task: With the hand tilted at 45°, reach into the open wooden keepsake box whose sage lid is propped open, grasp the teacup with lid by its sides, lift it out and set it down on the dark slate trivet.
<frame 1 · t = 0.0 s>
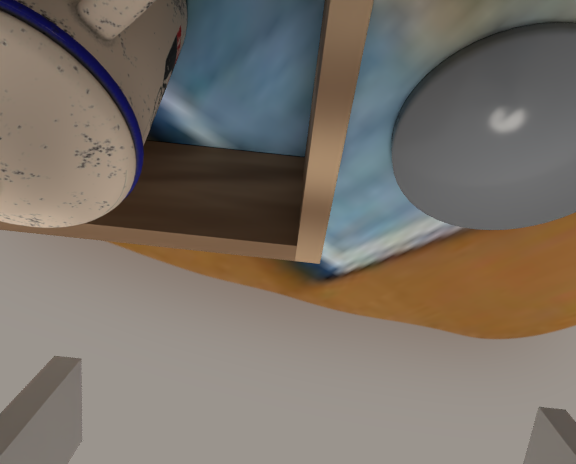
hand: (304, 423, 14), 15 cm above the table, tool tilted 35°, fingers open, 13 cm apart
trivet: (514, 137, 25), on the table
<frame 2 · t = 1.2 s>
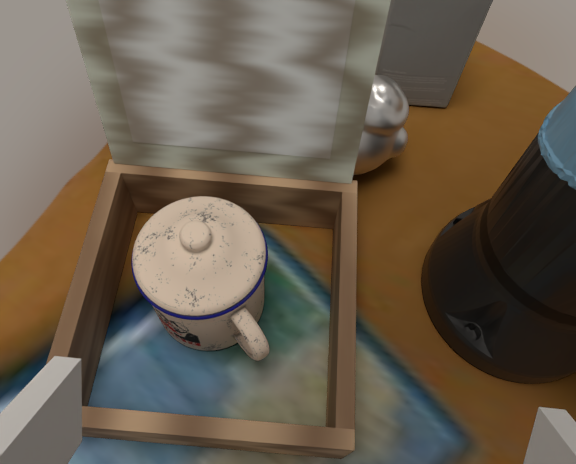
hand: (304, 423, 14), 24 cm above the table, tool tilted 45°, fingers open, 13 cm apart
skincare box: (405, 88, 54), on the table
teacup with lid: (221, 314, 41), resting in open wooden keepsake box
open wooden keepsake box: (221, 313, 41), on the table
silver metal rounded piece: (347, 158, 49), on the table
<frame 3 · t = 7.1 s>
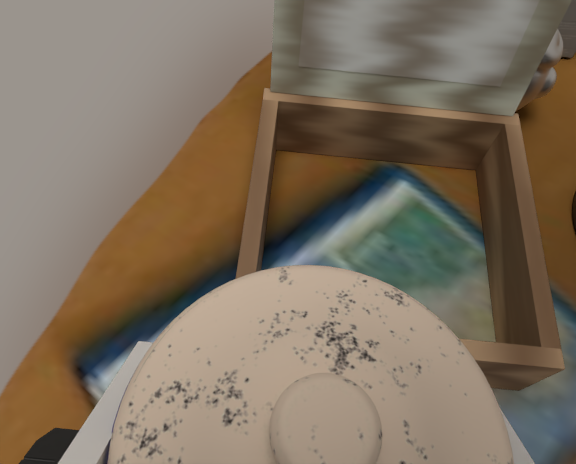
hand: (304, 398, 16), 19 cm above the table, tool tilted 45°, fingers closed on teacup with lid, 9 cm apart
skincare box: (526, 39, 53), on the table
open wooden keepsake box: (375, 248, 40), on the table
silver metal rounded piece: (479, 103, 48), on the table
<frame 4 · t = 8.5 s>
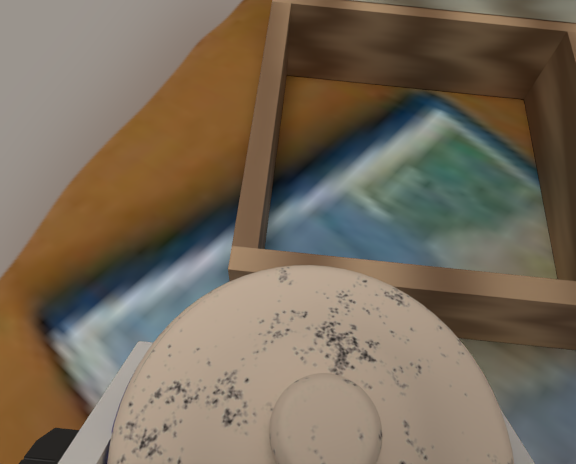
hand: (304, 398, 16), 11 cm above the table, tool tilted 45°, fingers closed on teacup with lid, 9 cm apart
open wooden keepsake box: (408, 185, 33), on the table
when the fingers open (6 cm above the table, at t = 9.9 s): teacup with lid stays where it is, resting on trivet.
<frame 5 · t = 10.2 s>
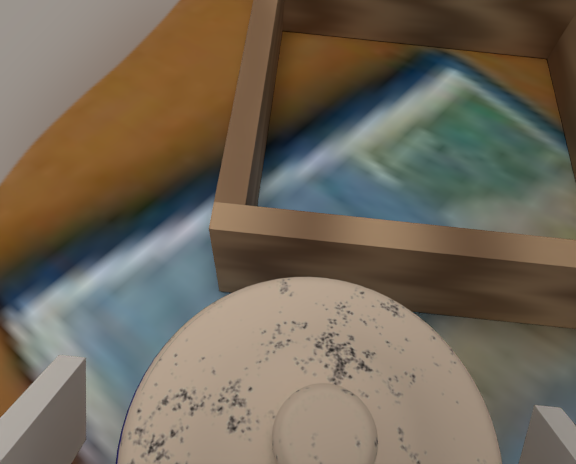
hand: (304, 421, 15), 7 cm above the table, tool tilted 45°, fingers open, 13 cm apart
open wooden keepsake box: (419, 148, 29), on the table
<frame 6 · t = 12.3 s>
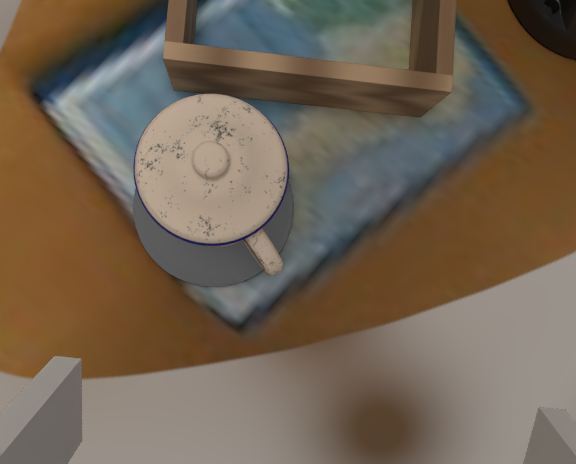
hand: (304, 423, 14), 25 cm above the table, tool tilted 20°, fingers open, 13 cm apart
trivet: (215, 208, 39), on the table
teacup with lid: (227, 206, 38), point 1 cm above the table, touching trivet
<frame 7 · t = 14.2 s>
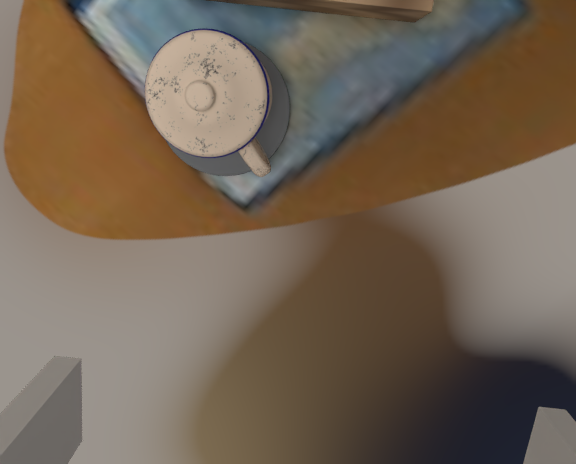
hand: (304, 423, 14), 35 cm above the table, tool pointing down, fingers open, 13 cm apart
trivet: (224, 109, 46), on the table
teacup with lid: (233, 108, 45), point 1 cm above the table, touching trivet
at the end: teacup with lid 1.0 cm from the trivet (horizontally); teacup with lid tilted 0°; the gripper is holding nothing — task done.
